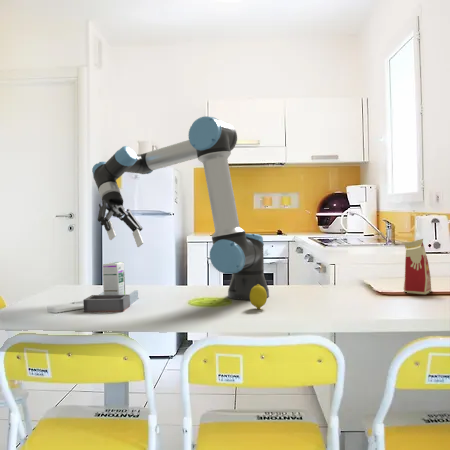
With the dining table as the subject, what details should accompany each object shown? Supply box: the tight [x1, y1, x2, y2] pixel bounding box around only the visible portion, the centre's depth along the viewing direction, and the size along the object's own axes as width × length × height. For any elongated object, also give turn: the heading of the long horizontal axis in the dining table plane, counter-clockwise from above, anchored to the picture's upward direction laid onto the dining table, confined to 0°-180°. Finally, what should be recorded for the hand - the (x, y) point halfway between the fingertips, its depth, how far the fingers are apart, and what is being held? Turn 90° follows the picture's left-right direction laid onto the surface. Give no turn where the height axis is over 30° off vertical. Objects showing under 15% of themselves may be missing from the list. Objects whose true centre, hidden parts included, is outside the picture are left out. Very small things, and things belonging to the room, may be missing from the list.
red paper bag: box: [402, 238, 432, 295], centre depth 184 cm, size 9×9×20 cm
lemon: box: [249, 284, 268, 310], centre depth 158 cm, size 6×6×8 cm
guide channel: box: [98, 290, 139, 306], centre depth 175 cm, size 14×12×3 cm
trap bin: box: [83, 294, 131, 313], centre depth 163 cm, size 9×13×4 cm
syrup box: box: [102, 261, 126, 295], centre depth 173 cm, size 6×6×14 cm
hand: (127, 241), depth 176 cm, fingers open, 13 cm apart
